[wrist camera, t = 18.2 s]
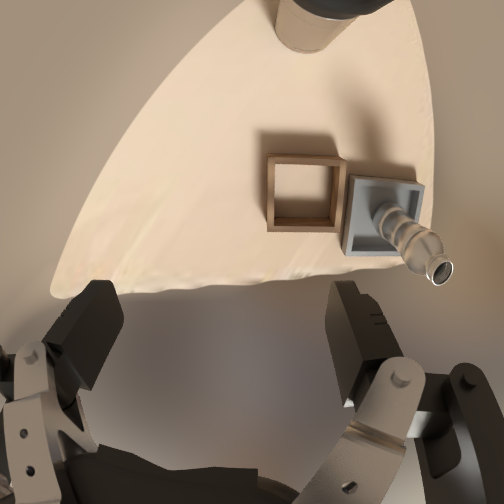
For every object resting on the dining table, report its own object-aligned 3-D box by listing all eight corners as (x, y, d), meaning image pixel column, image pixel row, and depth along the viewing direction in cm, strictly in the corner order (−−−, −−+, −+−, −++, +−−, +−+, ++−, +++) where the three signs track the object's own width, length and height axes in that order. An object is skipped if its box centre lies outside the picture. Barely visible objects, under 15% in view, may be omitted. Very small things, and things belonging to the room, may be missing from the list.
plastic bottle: (365, 230, 47) (414, 294, 30) (374, 195, 44) (435, 246, 26) (394, 235, 48) (448, 296, 30) (404, 202, 44) (468, 253, 27)
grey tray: (349, 174, 43) (355, 178, 41) (416, 181, 43) (424, 185, 40) (341, 248, 50) (345, 256, 47) (404, 249, 50) (410, 256, 47)
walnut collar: (267, 153, 42) (268, 157, 39) (339, 156, 42) (346, 160, 39) (266, 222, 48) (267, 231, 44) (333, 223, 48) (339, 232, 44)
